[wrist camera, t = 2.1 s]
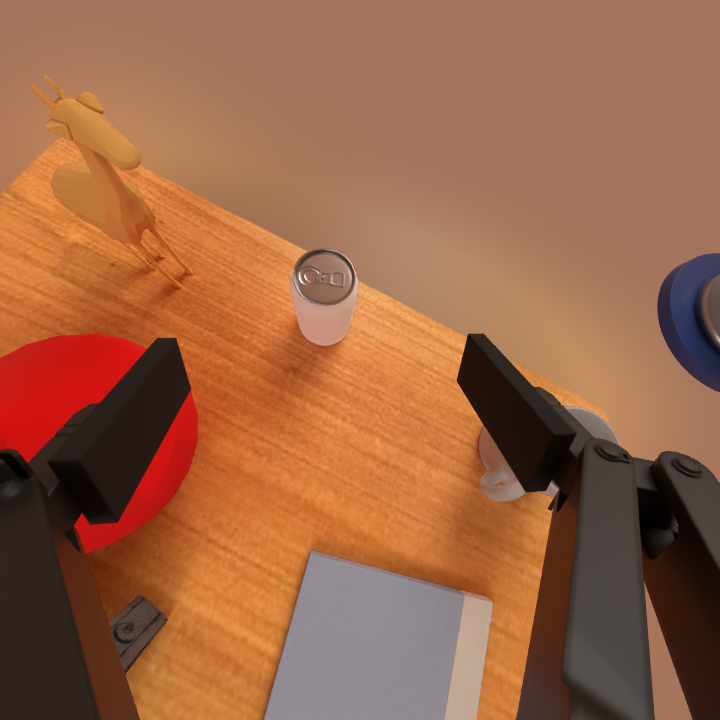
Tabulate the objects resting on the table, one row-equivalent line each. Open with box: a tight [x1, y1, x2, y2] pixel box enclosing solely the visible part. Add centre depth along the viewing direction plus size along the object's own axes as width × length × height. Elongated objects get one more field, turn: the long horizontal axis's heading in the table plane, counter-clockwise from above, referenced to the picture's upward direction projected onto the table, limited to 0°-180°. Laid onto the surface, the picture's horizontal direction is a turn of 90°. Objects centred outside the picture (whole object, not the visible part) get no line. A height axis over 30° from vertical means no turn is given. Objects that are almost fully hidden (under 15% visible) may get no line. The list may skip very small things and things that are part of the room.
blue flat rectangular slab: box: [263, 550, 493, 720], centre depth 32 cm, size 20×16×1 cm
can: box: [290, 248, 358, 346], centre depth 34 cm, size 6×6×12 cm
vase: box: [0, 334, 198, 554], centre depth 26 cm, size 18×18×19 cm
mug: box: [478, 406, 621, 501], centre depth 33 cm, size 12×8×11 cm
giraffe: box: [31, 75, 193, 288], centre depth 28 cm, size 16×4×25 cm, turn 59°
